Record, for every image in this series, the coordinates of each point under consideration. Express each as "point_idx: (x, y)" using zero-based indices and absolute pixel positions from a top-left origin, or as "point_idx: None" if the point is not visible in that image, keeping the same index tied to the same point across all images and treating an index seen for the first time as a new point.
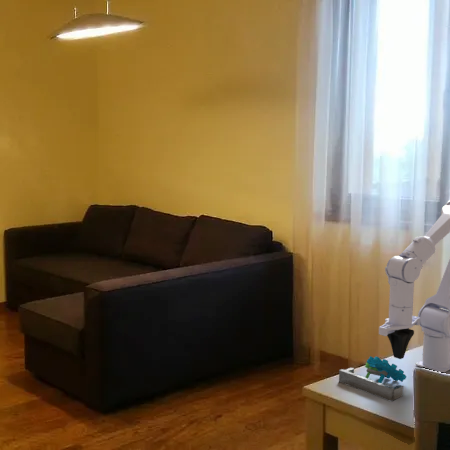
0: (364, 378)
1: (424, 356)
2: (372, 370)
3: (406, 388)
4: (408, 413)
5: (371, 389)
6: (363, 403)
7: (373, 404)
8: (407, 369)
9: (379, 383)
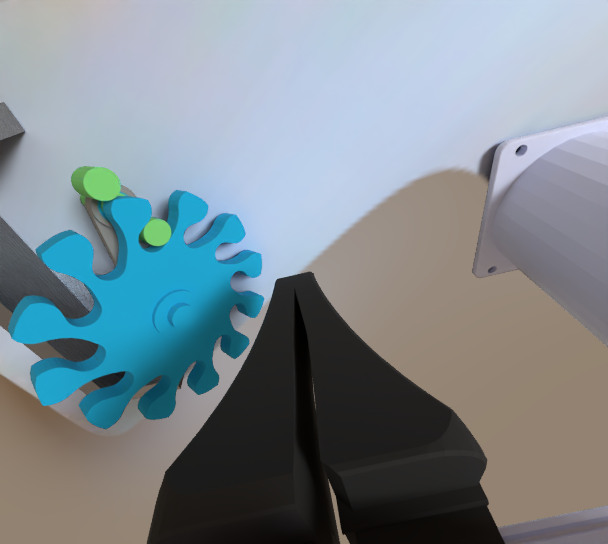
0: (6, 324)
1: (543, 210)
2: (107, 247)
3: (243, 318)
4: (142, 418)
5: None
6: (8, 356)
7: None
8: (414, 167)
9: None
